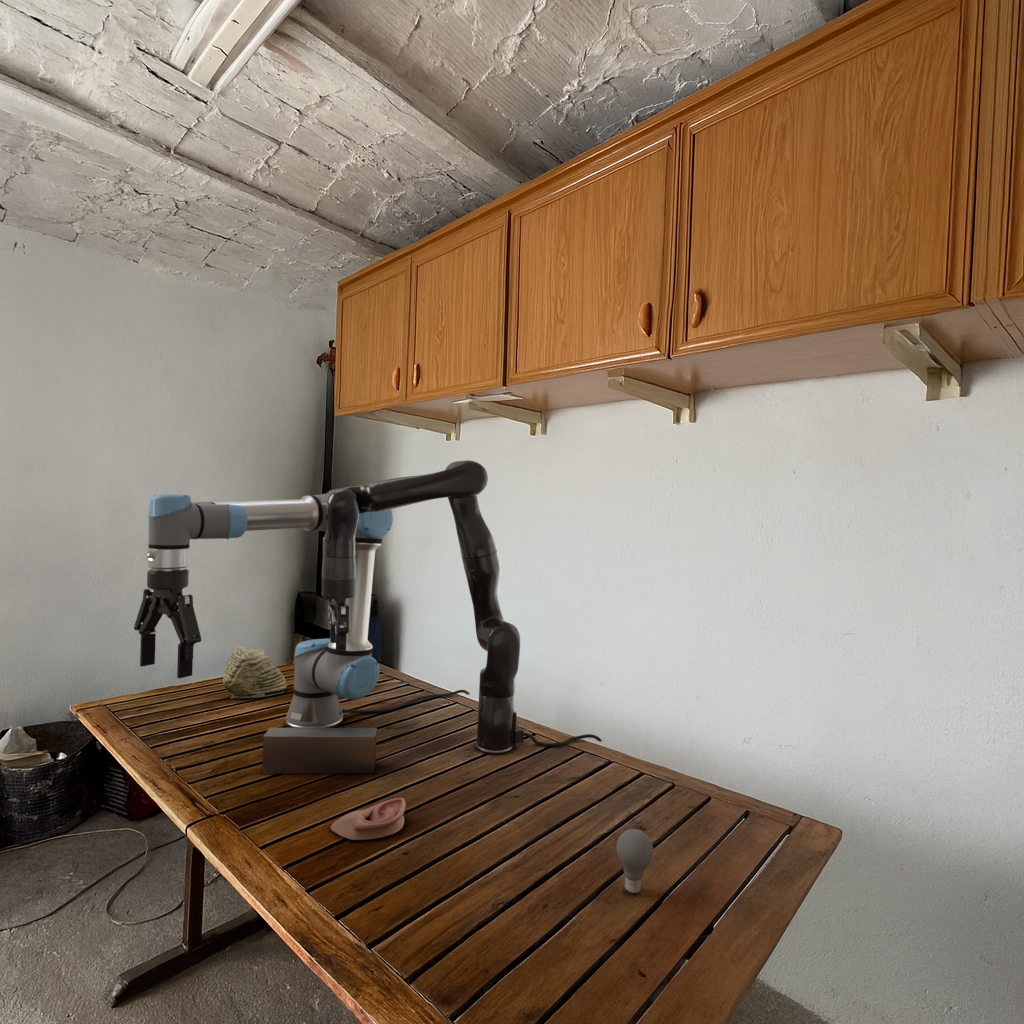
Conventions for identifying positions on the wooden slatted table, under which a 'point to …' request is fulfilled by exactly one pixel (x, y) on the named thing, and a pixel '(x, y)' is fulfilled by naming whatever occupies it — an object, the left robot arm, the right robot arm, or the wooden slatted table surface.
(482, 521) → the right robot arm
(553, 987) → the wooden slatted table surface
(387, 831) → the anatomical model
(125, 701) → the wooden slatted table surface
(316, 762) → the bar
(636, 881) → the light bulb
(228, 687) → the fossil
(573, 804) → the wooden slatted table surface
